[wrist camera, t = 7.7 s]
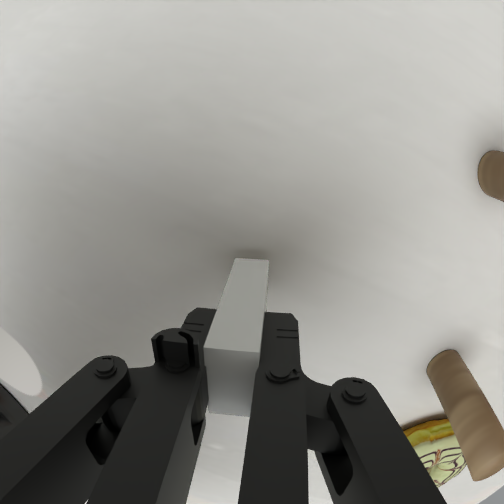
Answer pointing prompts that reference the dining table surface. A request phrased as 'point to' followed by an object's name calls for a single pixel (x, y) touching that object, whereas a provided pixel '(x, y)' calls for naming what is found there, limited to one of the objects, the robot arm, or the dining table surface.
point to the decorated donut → (437, 449)
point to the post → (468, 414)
